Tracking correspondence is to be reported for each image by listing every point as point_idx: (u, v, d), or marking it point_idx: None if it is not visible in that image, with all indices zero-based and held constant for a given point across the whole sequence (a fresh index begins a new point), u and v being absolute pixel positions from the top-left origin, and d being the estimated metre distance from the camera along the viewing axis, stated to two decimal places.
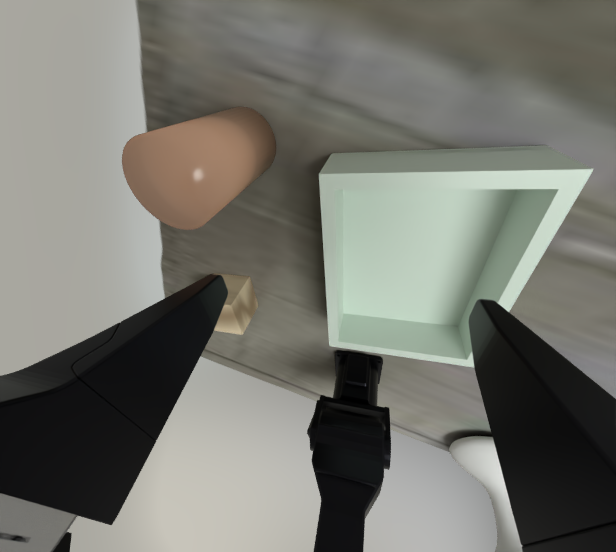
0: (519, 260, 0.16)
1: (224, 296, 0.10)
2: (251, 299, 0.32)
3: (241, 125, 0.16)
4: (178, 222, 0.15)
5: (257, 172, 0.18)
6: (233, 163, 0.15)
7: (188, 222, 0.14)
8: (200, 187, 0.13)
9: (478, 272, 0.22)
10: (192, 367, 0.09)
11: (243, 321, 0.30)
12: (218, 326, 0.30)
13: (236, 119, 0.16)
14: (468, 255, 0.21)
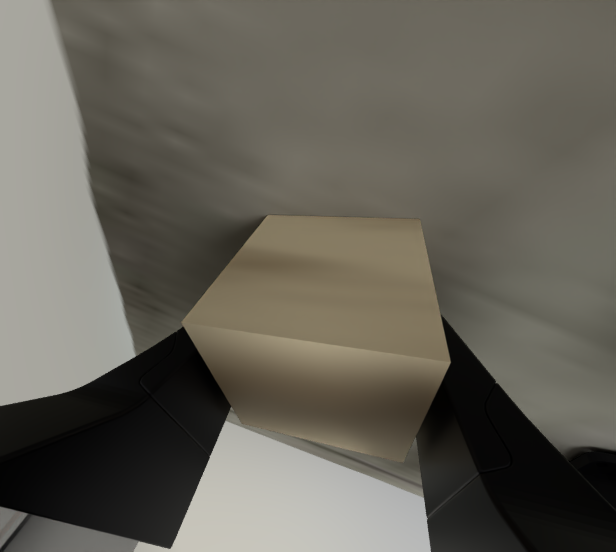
0: None
1: None
2: None
3: None
4: None
5: None
6: None
7: None
8: None
9: None
10: None
11: None
12: (299, 426, 0.07)
13: None
14: None
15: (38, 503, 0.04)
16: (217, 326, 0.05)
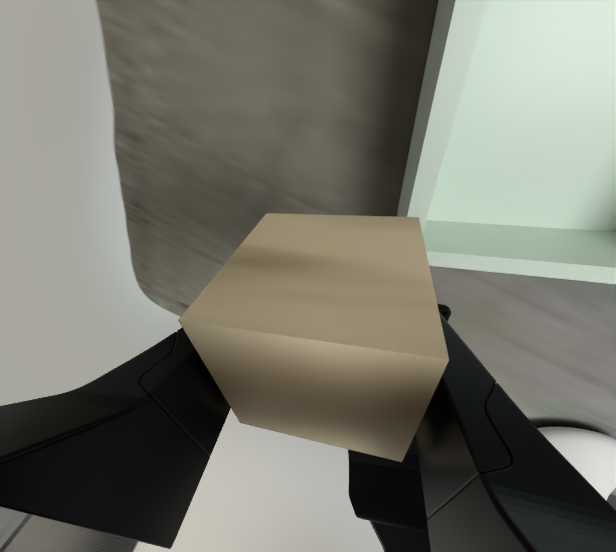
0: None
1: None
2: None
3: None
4: None
5: None
6: None
7: None
8: None
9: None
10: None
11: None
12: (297, 424, 0.07)
13: None
14: None
15: (38, 503, 0.04)
16: (214, 324, 0.05)
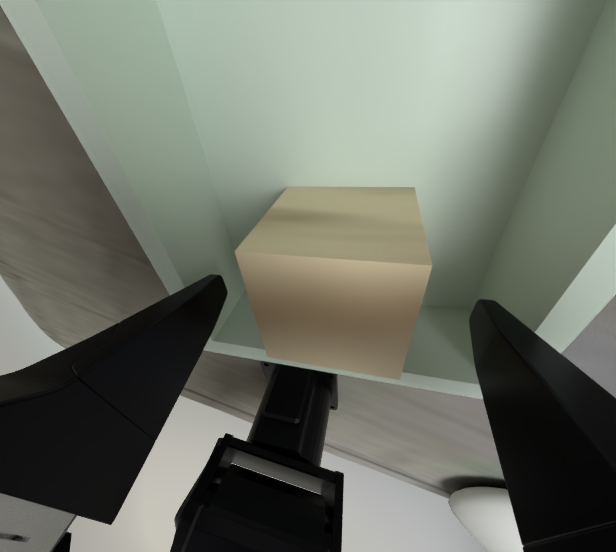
0: None
1: (224, 296, 0.10)
2: None
3: None
4: None
5: None
6: None
7: None
8: None
9: (530, 151, 0.08)
10: (192, 367, 0.09)
11: None
12: (316, 351, 0.09)
13: None
14: (507, 88, 0.07)
15: None
16: (262, 252, 0.07)
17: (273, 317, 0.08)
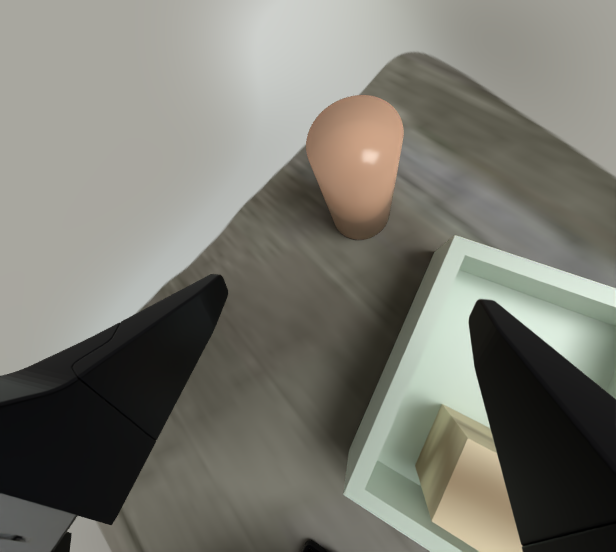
0: None
1: (224, 296, 0.10)
2: None
3: None
4: (334, 173, 0.13)
5: (382, 215, 0.19)
6: None
7: (347, 175, 0.13)
8: (390, 143, 0.13)
9: None
10: (192, 367, 0.09)
11: None
12: (478, 529, 0.13)
13: None
14: None
15: None
16: (483, 446, 0.14)
17: (462, 488, 0.14)
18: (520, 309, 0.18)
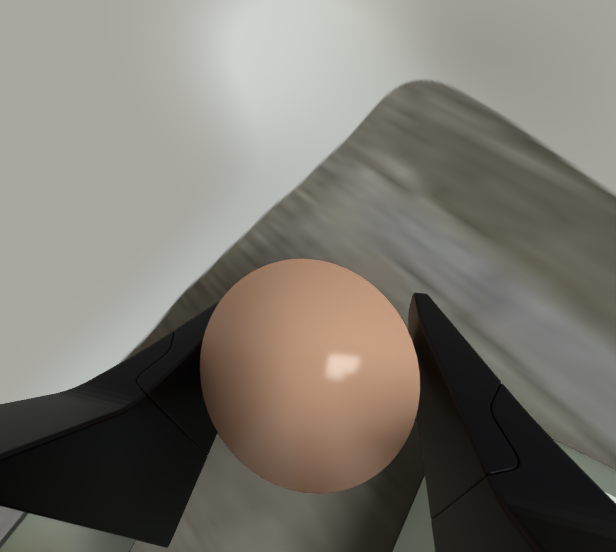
0: None
1: None
2: None
3: None
4: (264, 457, 0.06)
5: None
6: None
7: (294, 468, 0.05)
8: (389, 399, 0.05)
9: None
10: None
11: None
12: None
13: None
14: None
15: (33, 501, 0.04)
16: None
17: None
18: None
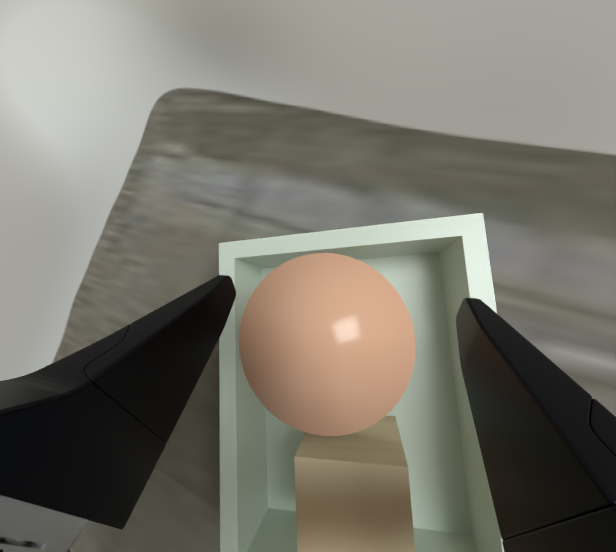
0: None
1: (232, 297, 0.10)
2: None
3: None
4: (293, 409, 0.07)
5: None
6: None
7: (317, 417, 0.07)
8: (392, 359, 0.07)
9: (451, 398, 0.15)
10: (201, 369, 0.09)
11: None
12: None
13: None
14: (425, 368, 0.15)
15: None
16: (311, 457, 0.12)
17: (311, 519, 0.11)
18: None
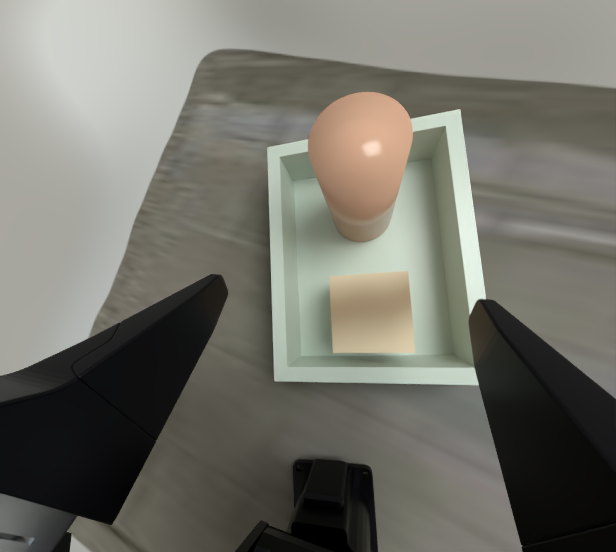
0: (453, 191, 0.17)
1: (224, 296, 0.10)
2: None
3: None
4: (342, 178, 0.12)
5: (387, 216, 0.18)
6: None
7: (356, 179, 0.12)
8: (400, 142, 0.12)
9: (440, 262, 0.20)
10: (192, 367, 0.09)
11: None
12: (364, 337, 0.16)
13: None
14: (421, 242, 0.21)
15: None
16: (341, 275, 0.17)
17: (341, 314, 0.16)
18: None
